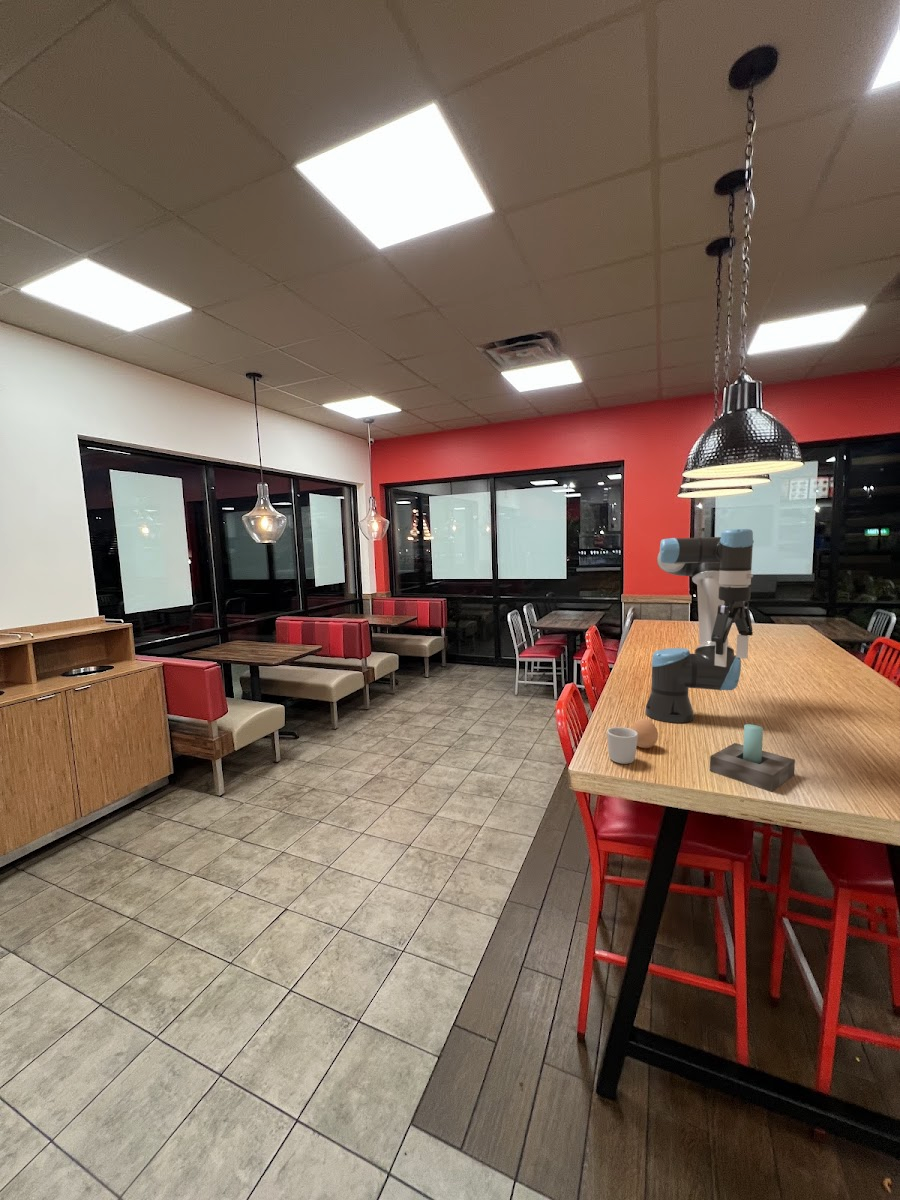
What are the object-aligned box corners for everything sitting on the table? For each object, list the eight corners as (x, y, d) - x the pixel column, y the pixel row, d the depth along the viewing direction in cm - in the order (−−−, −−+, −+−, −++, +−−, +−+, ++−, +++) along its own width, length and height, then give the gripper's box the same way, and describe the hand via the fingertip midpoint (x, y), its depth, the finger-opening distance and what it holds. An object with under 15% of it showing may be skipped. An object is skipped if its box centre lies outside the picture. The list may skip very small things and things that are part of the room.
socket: (709, 770, 122) (710, 755, 122) (734, 756, 130) (734, 742, 130) (771, 791, 111) (772, 775, 110) (794, 774, 119) (794, 759, 119)
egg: (624, 745, 140) (625, 716, 139) (643, 741, 143) (644, 713, 142) (644, 754, 133) (644, 724, 132) (663, 749, 136) (664, 720, 135)
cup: (597, 751, 136) (598, 723, 135) (624, 749, 136) (625, 722, 136) (613, 767, 125) (614, 737, 124) (642, 765, 126) (643, 736, 125)
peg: (739, 772, 121) (741, 726, 120) (746, 768, 123) (748, 723, 122) (757, 778, 118) (759, 731, 117) (763, 773, 120) (765, 727, 119)
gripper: (729, 590, 119) (725, 672, 122) (768, 583, 134) (764, 656, 137) (698, 588, 125) (696, 666, 128) (739, 582, 140) (736, 652, 143)
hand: (731, 661), depth 132 cm, fingers open, 13 cm apart
